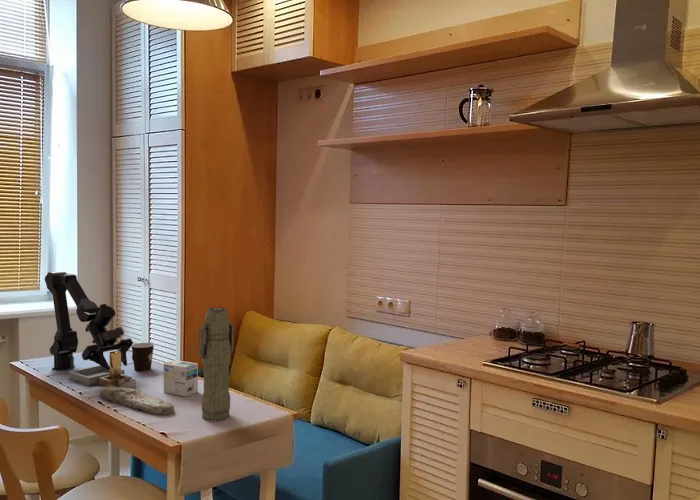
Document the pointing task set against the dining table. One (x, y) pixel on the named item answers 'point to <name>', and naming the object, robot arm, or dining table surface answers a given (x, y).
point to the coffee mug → (142, 356)
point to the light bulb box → (180, 378)
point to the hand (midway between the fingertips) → (117, 367)
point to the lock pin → (115, 365)
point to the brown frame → (118, 382)
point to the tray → (90, 375)
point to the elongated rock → (136, 400)
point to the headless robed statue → (216, 363)
